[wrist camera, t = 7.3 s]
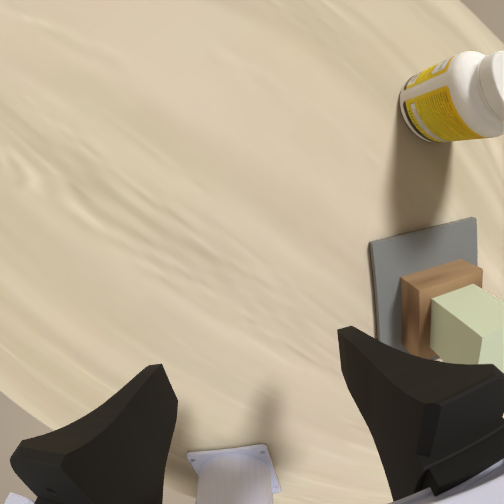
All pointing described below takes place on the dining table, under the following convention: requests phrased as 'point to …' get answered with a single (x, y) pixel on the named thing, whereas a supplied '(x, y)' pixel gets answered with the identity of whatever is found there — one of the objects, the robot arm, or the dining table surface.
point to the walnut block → (419, 300)
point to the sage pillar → (468, 327)
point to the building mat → (414, 267)
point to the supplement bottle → (457, 98)
